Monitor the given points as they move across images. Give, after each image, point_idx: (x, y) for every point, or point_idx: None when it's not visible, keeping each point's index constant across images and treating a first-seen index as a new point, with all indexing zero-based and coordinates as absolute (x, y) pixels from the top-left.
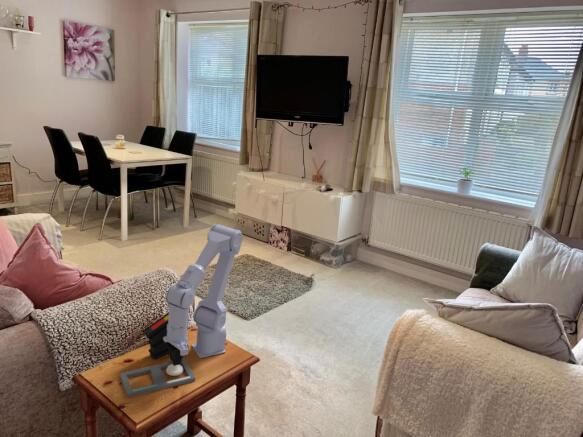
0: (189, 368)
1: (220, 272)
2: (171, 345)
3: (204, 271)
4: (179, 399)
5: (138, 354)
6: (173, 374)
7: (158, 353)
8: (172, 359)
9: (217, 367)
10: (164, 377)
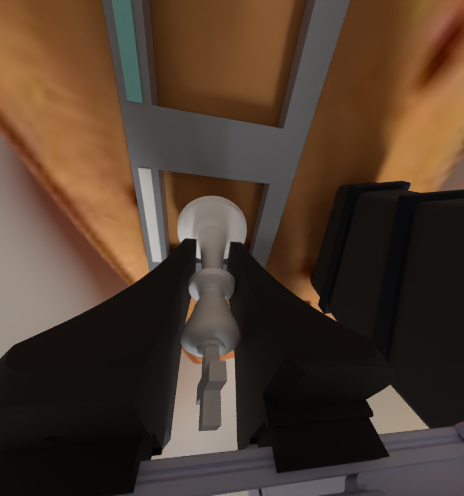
0: None
1: None
2: (145, 420)
3: None
4: (44, 178)
5: (427, 136)
6: (181, 215)
7: (349, 213)
8: (176, 257)
9: None
10: (190, 172)
